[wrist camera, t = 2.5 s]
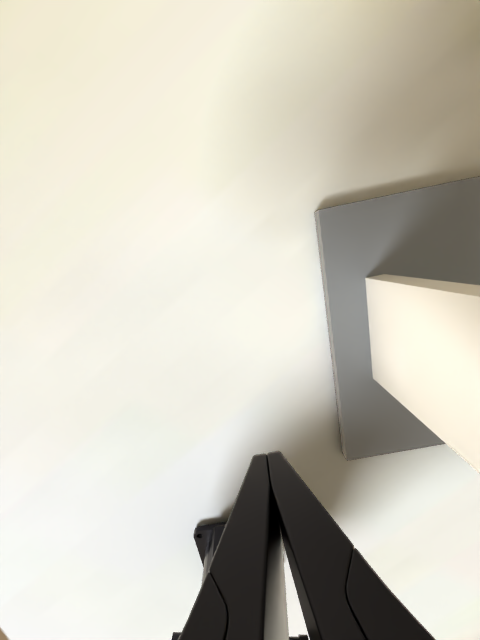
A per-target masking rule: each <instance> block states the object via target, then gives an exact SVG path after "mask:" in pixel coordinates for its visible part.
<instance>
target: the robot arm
mask: <svg viewBox="0 0 480 640" xmlns="http://www.w3.org/2000/svg"><path fill="white" fill-rule="evenodd" d="M280 529H281V530H280ZM281 534H282V537H281ZM194 539H195V542H196V545H197V548H198V551H199V554H200V557H201V561H202V564H203V567H204V569H203V578H202V587H201V589H200V592H199V594H198V596H197V599H196V601H195V603H194V606H193V608H192V610H191V613H190V615H189V618H188V620H187V622H186V624H185V626H184V628H183V631H182V632H173V636H172V640H308V636H307V635H299V636H298V637H289V632H288V618H287V603H286V589H285V575H284V560H283V547H282V539H283V543H284V547H285V551H286V554H287V558H288V562H289V565H290V569H291V572H292V576H293V580H294V583H295V587H296V591H297V594H298V598H299V602H300V605H301V609H302V612H303V616H304V620H305V623H306V627H307V631H308V634H309V638H310V640H436V639H435V638H434V637H433V636H432V635H431V634H430V633H429V632H428V631H427V630H426V629H425V628H424V627H423V626H422V625H421V624H420V622H419V621H418V620H417V619H416V618H415V617H414V616H413V615H412V614H411V613H410V612H409V610H408V609H407V608H406V607H405V606H404V605H403V604H402V603H401V602H400V600H399V599H398V598H397V597H396V596H395V595H394V594H393V593H392V592H391V590H390V589H389V588H388V587H387V586H386V585H385V583H384V582H383V581H382V580H381V578H380V577H379V576H378V575H377V574H376V572H375V571H374V570H373V569H372V568H371V566H370V565H369V564H368V563H367V561H366V560H365V559H364V558H363V556H362V555H361V554H360V552H359V551H358V550H357V549H356V548H355V549H354V545H353V544H352V543H351V541H350V540H349V539H348V537H347V536H346V535H345V534H344V532H343V531H342V530H341V529H340V527H339V526H338V525H337V523H336V522H335V521H334V520H333V518H332V517H331V516H330V515H329V513H328V512H327V511H326V509H325V508H324V507H323V506H322V504H321V503H320V502H319V501H318V499H317V498H316V497H315V495H314V494H313V493H312V492H311V490H310V489H309V488H308V487H307V485H306V484H305V483H304V481H303V480H302V479H301V478H300V476H299V475H298V474H297V473H296V471H295V470H294V469H293V467H292V466H291V465H290V464H289V462H288V461H287V460H286V459H285V457H284V456H283V455H282V453H281V452H280V451H275V452H269V453H267V455H266V454H265V453H263V454H258V455H254V456H253V458H252V461H251V463H250V466H249V468H248V471H247V473H246V476H245V478H244V481H243V483H242V486H241V488H240V491H239V493H238V496H237V498H236V501H235V503H234V506H233V509H232V511H231V514H230V516H229V519H228V521H227V522H223V523H217V524H211V525H205V526H199V527H196V528H195V530H194Z"/></svg>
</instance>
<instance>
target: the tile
mask: <svg viewBox="0 0 480 640" xmlns="http://www.w3.org/2000/svg"><path fill="white" fill-rule="evenodd" d="M365 280H366V294H367V307H368V320H369V333H370V347H371V360H372V373H373V379H374V380H375V381H377V382H378V383H379V384H380V385H381V386H382V387H383V388H384V389H386V390H387V391H388V392H389V393H390V394H391V395H392V396H393V397H394V398H396V399H397V400H398V401H399V402H400V403H401V404H402V405H403V406H405V407H406V408H407V409H408V410H409V411H410V412H411V413H412V414H413V415H415V416H416V417H417V418H418V419H419V420H420V421H421V422H422V423H424V424H425V425H426V426H427V427H428V428H429V429H430V430H431V431H432V432H434V433H435V434H436V435H437V436H438V437H439V438H440V439H441V440H442V441H444V442H445V443H446V444H447V445H448V446H449V447H450V448H451V449H453V450H454V451H455V452H456V453H457V454H458V455H459V456H460V457H461V458H463V459H464V460H465V461H466V462H467V463H468V464H469V465H470V466H472V467H473V468H474V469H475V470H476V471H477V472H478V473H479V474H480V285H473V284H464V283H456V282H447V281H439V280H430V279H422V278H413V277H405V276H396V275H388V274H383V275H378V276H373V277H368V278H365Z"/></svg>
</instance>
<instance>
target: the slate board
mask: <svg viewBox="0 0 480 640" xmlns="http://www.w3.org/2000/svg"><path fill="white" fill-rule="evenodd" d="M315 221H316V229H317V238H318V246H319V255H320V263H321V272H322V280H323V289H324V297H325V306H326V315H327V323H328V332H329V340H330V349H331V357H332V366H333V374H334V383H335V391H336V400H337V408H338V417H339V426H340V434H341V443H342V451H343V454H344V456H345V458H346V460H347V461H348V460H354V459H359V458H365V457H371V456H377V455H383V454H389V453H394V452H400V451H406V450H412V449H418V448H424V447H430V446H435V445H441V444H446V443H445V442H444V441H442V440H441V439H440V438H439V437H438V436H437V435H436V434H435V433H434V432H432V431H431V430H430V429H429V428H428V427H427V426H426V425H425V424H424V423H422V422H421V421H420V420H419V419H418V418H417V417H416V416H415V415H413V414H412V413H411V412H410V411H409V410H408V409H407V408H406V407H405V406H403V405H402V404H401V403H400V402H399V401H398V400H397V399H396V398H394V397H393V396H392V395H391V394H390V393H389V392H388V391H387V390H386V389H384V388H383V387H382V386H381V385H380V384H379V383H378V382H377V381H375V380H374V379H373V373H372V360H371V347H370V333H369V320H368V307H367V294H366V280H365V278H368V277H373V276H378V275H383V274H388V275H396V276H405V277H413V278H422V279H430V280H439V281H447V282H456V283H464V284H473V285H480V176H478V177H473V178H468V179H463V180H459V181H454V182H449V183H444V184H440V185H435V186H430V187H425V188H421V189H416V190H411V191H406V192H402V193H397V194H392V195H387V196H382V197H378V198H373V199H368V200H363V201H359V202H354V203H349V204H344V205H340V206H335V207H330V208H325V209H320V210H318V211H316V212H315Z"/></svg>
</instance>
